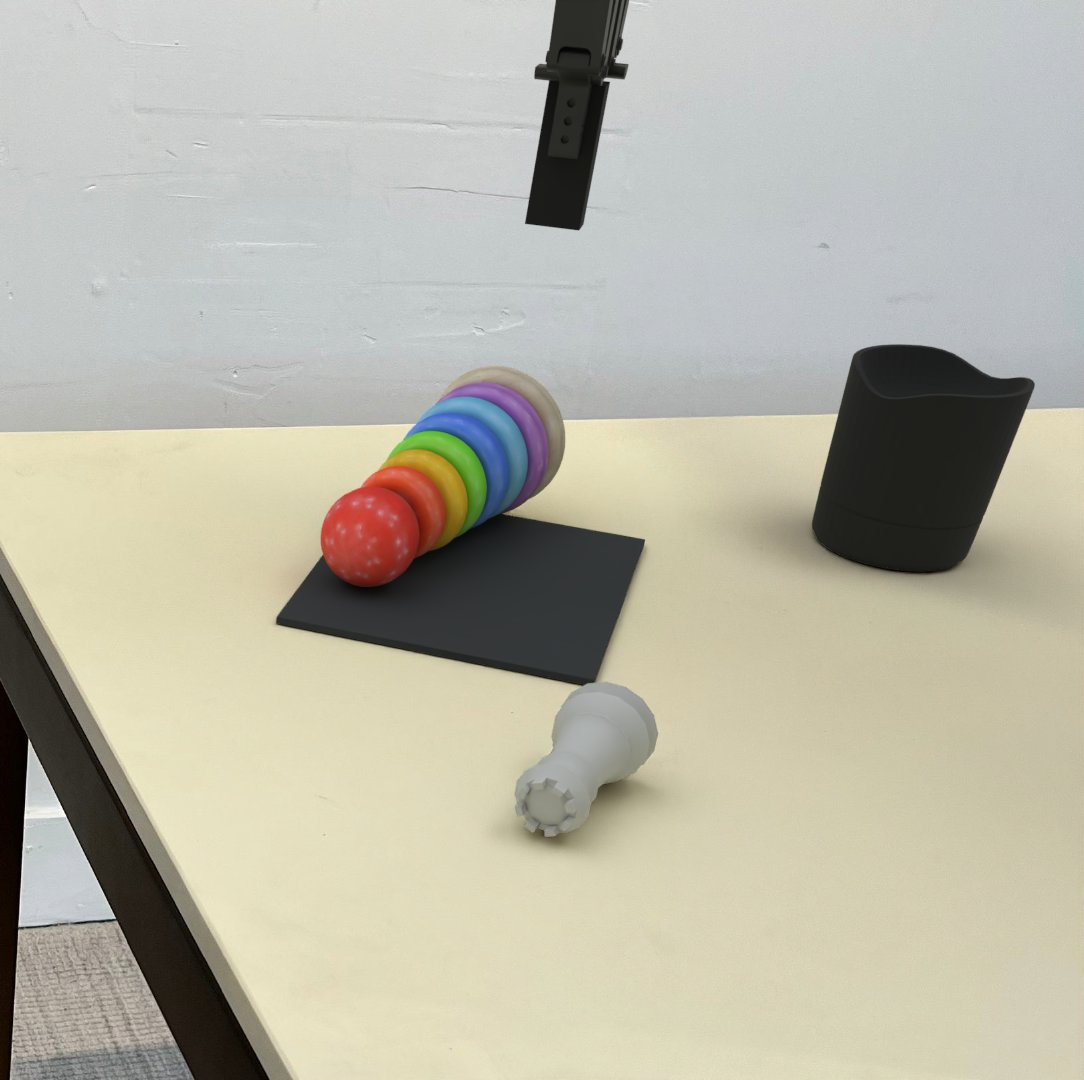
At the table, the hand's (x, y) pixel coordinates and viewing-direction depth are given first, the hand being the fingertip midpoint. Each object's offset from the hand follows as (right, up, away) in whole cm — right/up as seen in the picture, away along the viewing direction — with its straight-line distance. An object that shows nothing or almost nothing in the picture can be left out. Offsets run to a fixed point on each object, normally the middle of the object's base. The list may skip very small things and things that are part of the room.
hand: (554, 223), depth 92 cm
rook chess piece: (0, -27, -11) cm, 29 cm away
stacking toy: (+1, -6, +13) cm, 15 cm away
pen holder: (+23, -13, +14) cm, 30 cm away
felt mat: (-3, -17, +6) cm, 18 cm away
